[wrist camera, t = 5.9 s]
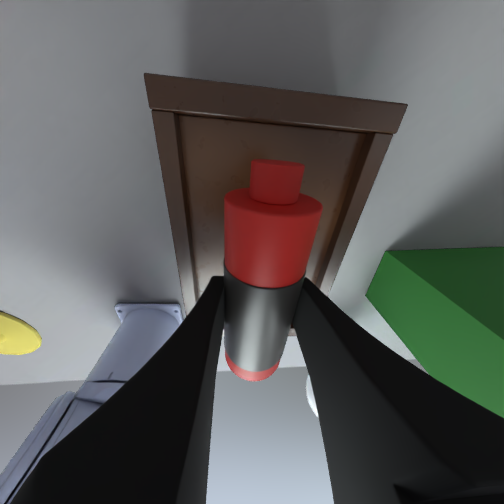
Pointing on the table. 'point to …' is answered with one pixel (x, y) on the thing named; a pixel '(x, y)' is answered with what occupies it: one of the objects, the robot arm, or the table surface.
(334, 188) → the shelf
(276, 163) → the thermos
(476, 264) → the hardback book
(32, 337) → the candle
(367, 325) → the table surface
